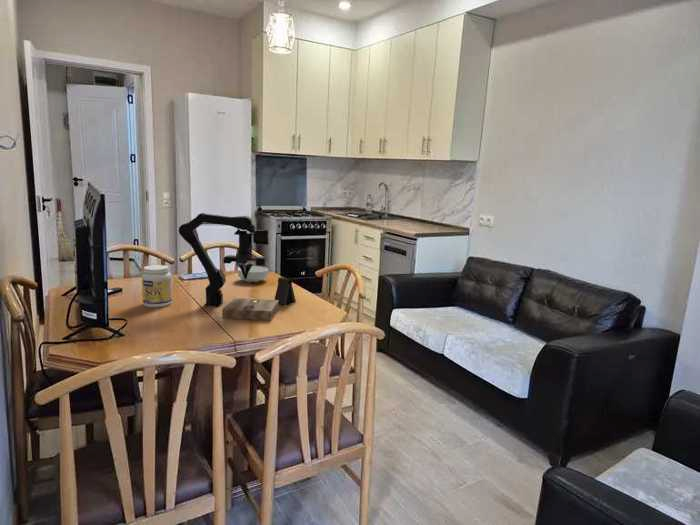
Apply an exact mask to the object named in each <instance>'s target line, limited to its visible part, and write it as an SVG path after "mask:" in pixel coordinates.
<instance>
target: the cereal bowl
mask: <svg viewBox="0 0 700 525" xmlns="http://www.w3.org/2000/svg"><path fill="white" fill-rule="evenodd" d="M268 275H269V268H268V267H265V266H262V265H261V266H260V265H253V266H252V267H251V269H250V271H249V274H248V277H247V279H244V276H243V273H242V271H241V269H240V267H239V266H238V268H237V276H238V277H239V279H240V280H243V281H245V282H246V283H251V282H255V283H258V282H259V281H260V282H261V281H263V280H265V279H266V278H267V277H268ZM260 282H259V283H260Z"/></svg>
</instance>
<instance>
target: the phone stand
mask: <svg viewBox="0 0 700 525" xmlns="http://www.w3.org/2000/svg"><path fill="white" fill-rule="evenodd" d="M273 300H279V306H280V305H281V306H280V307H286V306H289V305H291V303H292V304H295V303H296V302H297V300H296V296H295V293H294V289H293V280H292V278H288V277H282V276H281V277H278V279H277V286H276V292H275V295H274V299H273ZM285 305H286V306H285Z"/></svg>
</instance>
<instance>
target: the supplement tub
mask: <svg viewBox="0 0 700 525" xmlns="http://www.w3.org/2000/svg"><path fill="white" fill-rule="evenodd" d="M172 277H173V276H172V273H171V272H170V266H168V265H166V264H165V265H162V264H154V265H146V266H143V273H142V275H141V286H142V287H141V289H142V304H143V305H144V306H145V307H147V308H163V307H167V306H169V305H171V304H172V302H173V281H172V280H173V279H172Z"/></svg>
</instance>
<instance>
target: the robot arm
mask: <svg viewBox="0 0 700 525" xmlns="http://www.w3.org/2000/svg"><path fill="white" fill-rule="evenodd" d="M204 223H205V224H213V225H214V224H215V225H222V226H229V227H232V228H235V229H237V230H236V231H235V232H234V235H237V236H238V248H237V250H238V251H237V253H236V254H235V255H233V254H231V255H229V254H227V255H225V256H224V257H223V259H222V260H223V262H222V263H223V264H229V265H230V264H231V263H233V262H234V263H236V264H235V265H236V266H238V268H239V267H240V269H241V271H242V273H243V276H244V279H247V277H248V274H249V271H250V269H251V267H252V266H255V264H257V266H260V265H261V266H266V265H267V263H268V257H267V256H258V257H255V258H254V256H253V244H255V246H269V243H270V236H269V229H257V228H256V227H255V225H254V224H253V219H252V217H250V216H248V215H240V216H238V215H237V216H226V215H221V214H220V215H219V214H211V213H205V212H201V213H198V214H197V216H195V217H194V218H193V219H192V220H190V221H189V222H186V223H183V224H181V225H180V226H179V228H178V234H179V235H180V236H181V238H183V240H185V241H186V242H187V244H188V245H190V247H191V249H192V250H193V252H194V253H195V255H196V257H197V258H198V261H199V262H200V264H201V265H202V267H203V269H204V271H205V272H206V274H207V279H208V282H209V284H208V285H207V286H206V287H205V304H204V306H209V307H219V306H220V307H221V305H222V304H224V294H223V291H222V290H221V289H222V288H223V287H224V285H225V283H226V281H227V279H226V277H227V275H226V274H225V273H224V271H223V269H222V268H219V269H218V268H217V267H216V266H215V264H214V263H213V260H212V258H210V256H209V254H208V253H207V250H206V249H205V247H204V246H203V244H202V243H201V241H200V239H199V233H198V230H197V228H199V227H200V226H202V225H203V224H204Z"/></svg>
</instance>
